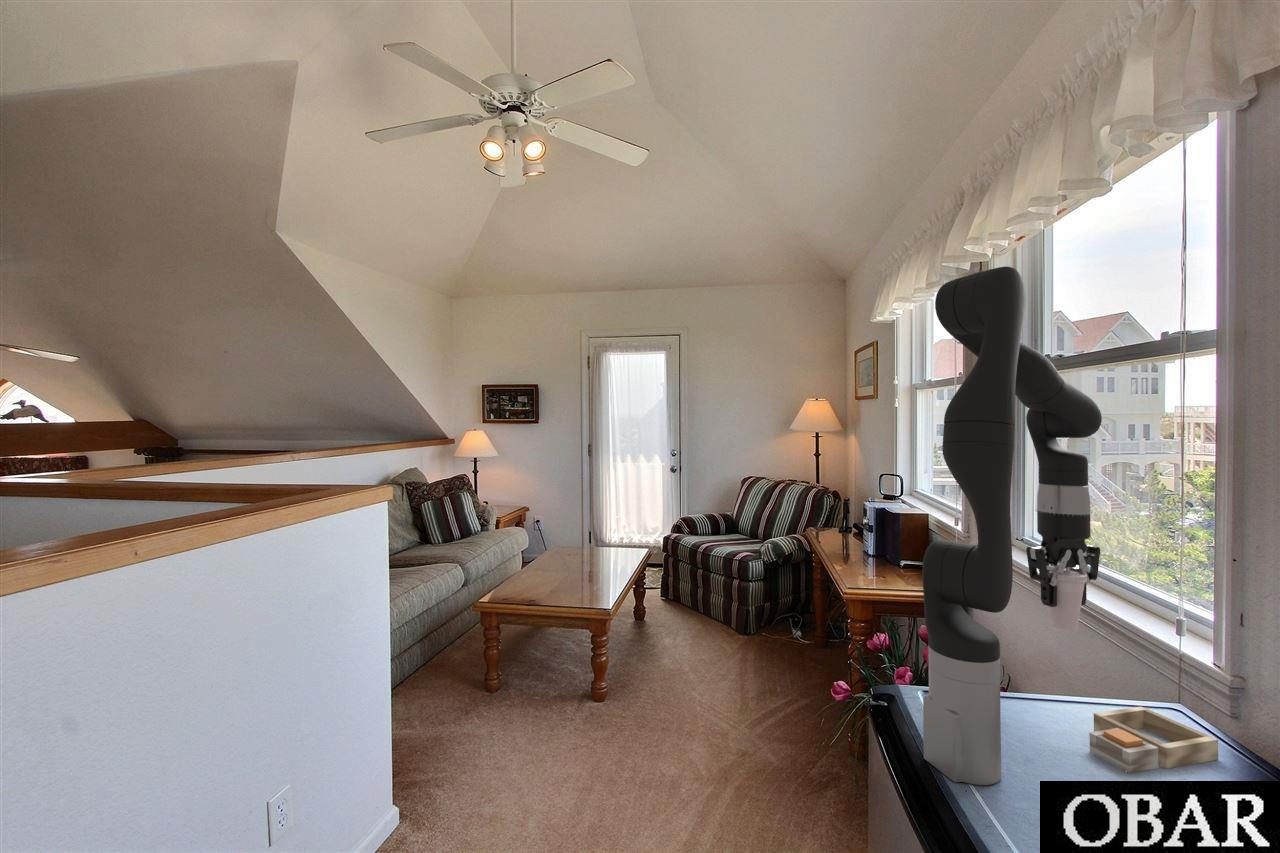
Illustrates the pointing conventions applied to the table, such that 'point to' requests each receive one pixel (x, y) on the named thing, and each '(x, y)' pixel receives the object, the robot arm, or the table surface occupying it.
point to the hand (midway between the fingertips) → (1063, 604)
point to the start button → (1123, 738)
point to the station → (1150, 741)
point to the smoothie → (1068, 599)
